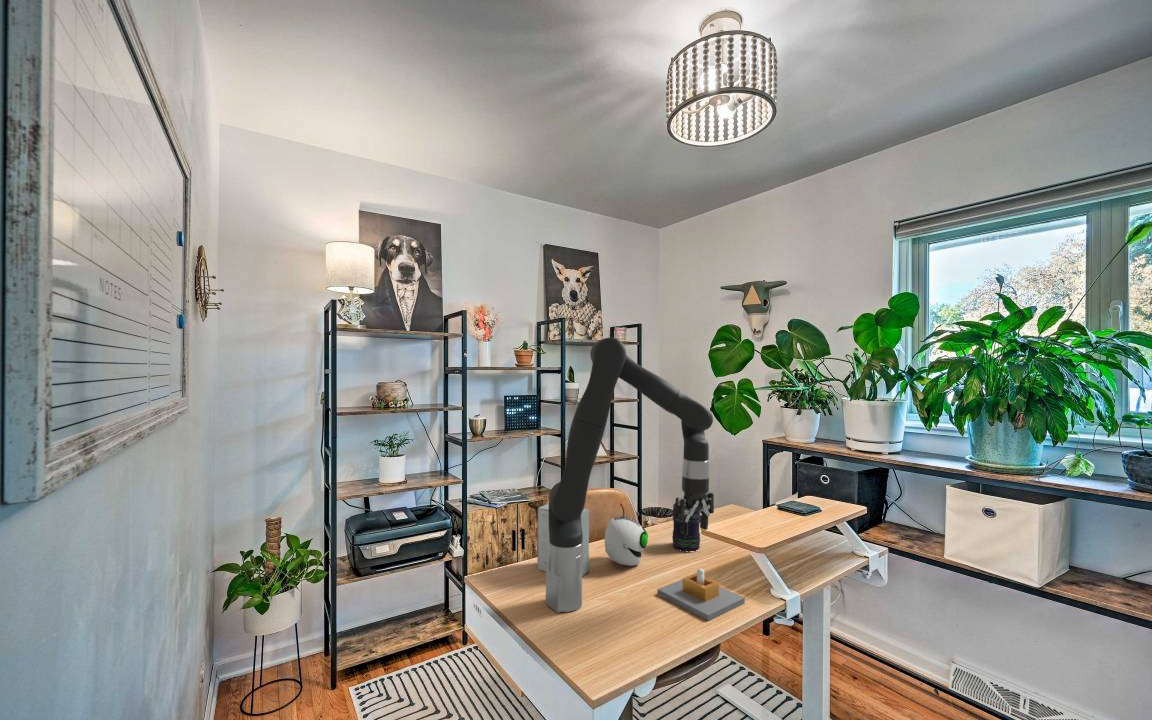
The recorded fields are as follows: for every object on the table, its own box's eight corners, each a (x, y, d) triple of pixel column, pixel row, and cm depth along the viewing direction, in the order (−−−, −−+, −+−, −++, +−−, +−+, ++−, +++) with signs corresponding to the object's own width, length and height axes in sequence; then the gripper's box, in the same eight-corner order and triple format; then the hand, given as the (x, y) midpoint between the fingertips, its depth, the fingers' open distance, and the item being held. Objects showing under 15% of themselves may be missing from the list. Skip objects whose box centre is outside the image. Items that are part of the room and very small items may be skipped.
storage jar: (683, 540, 184) (684, 500, 184) (705, 548, 177) (706, 506, 177) (666, 546, 178) (667, 505, 178) (688, 554, 170) (688, 512, 170)
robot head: (646, 576, 153) (647, 512, 153) (601, 572, 155) (601, 509, 155) (648, 556, 169) (648, 498, 169) (606, 552, 171) (607, 495, 171)
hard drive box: (589, 571, 156) (590, 509, 156) (577, 581, 149) (578, 515, 149) (549, 561, 164) (549, 501, 164) (536, 569, 157) (536, 507, 157)
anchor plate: (708, 621, 127) (708, 588, 127) (657, 594, 141) (657, 564, 141) (744, 603, 136) (744, 572, 136) (693, 579, 151) (693, 552, 151)
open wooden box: (705, 601, 134) (705, 588, 134) (682, 590, 140) (682, 578, 140) (718, 595, 137) (719, 583, 137) (696, 585, 144) (696, 573, 144)
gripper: (689, 480, 132) (687, 540, 132) (722, 474, 140) (720, 531, 140) (668, 475, 138) (667, 532, 138) (701, 469, 146) (699, 523, 146)
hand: (694, 531), depth 139 cm, fingers open, 8 cm apart
